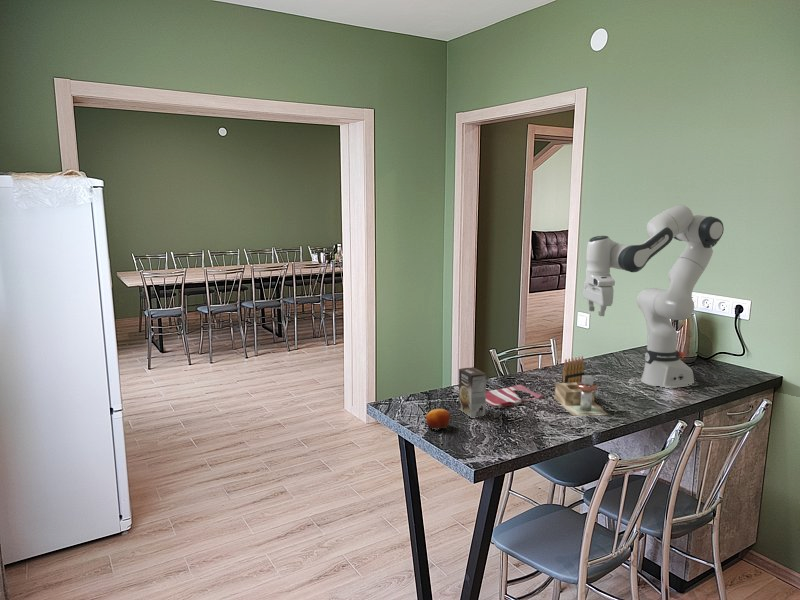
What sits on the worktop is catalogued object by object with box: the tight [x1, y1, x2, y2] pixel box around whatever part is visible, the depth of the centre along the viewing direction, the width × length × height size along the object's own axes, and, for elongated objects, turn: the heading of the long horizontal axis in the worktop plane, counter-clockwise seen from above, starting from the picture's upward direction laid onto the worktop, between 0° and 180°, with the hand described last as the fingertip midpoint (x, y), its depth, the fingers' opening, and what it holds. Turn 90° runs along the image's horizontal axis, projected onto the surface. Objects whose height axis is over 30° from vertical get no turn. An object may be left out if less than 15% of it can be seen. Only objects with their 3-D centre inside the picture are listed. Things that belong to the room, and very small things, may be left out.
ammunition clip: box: [561, 355, 585, 383], centre depth 246 cm, size 11×2×12 cm, turn 117°
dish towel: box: [486, 384, 545, 409], centre depth 232 cm, size 17×23×3 cm
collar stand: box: [552, 382, 609, 417], centre depth 221 cm, size 13×22×6 cm, turn 5°
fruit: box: [425, 408, 451, 429], centre depth 202 cm, size 8×8×8 cm
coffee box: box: [458, 367, 487, 417], centre depth 214 cm, size 9×6×16 cm
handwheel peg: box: [577, 374, 598, 411], centre depth 215 cm, size 7×7×12 cm
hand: (596, 313), depth 233 cm, fingers open, 8 cm apart
